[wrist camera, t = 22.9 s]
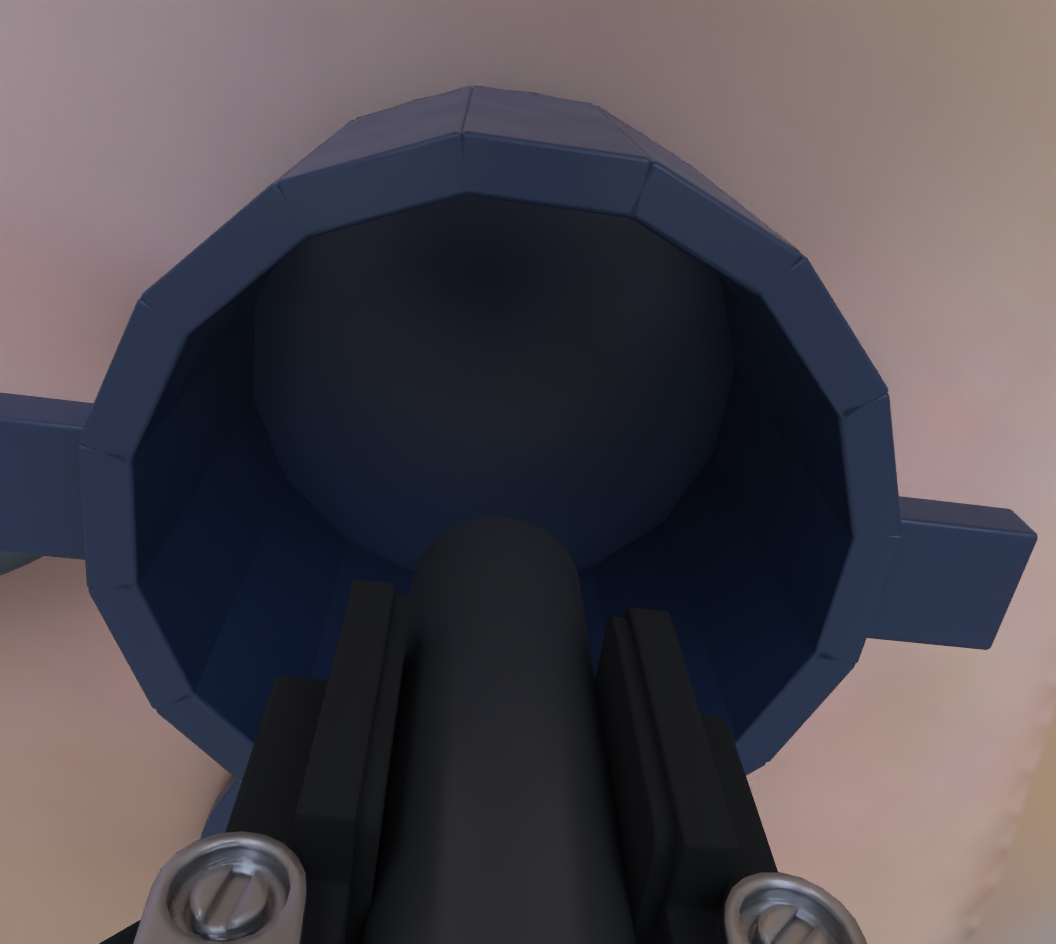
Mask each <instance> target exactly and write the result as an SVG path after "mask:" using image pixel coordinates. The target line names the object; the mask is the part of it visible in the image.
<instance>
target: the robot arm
mask: <svg viewBox="0 0 1056 944" xmlns="http://www.w3.org/2000/svg"><path fill="white" fill-rule="evenodd" d="M410 599H411V597H409V596H399V595H395V584H392V583H382V582H372V581H362V580H353V583H352V587H351V591H350V595H349V599H348V603H347V607H346V611H345V615H344V619H343V623H342V627H341V631H340V635H339V639H338V643H337V647H336V652H335V656H334V660H333V664H332V668H331V672H330V676H329V680H324V679H313V678H302V677H291V676H280V675H279V676H278V677H277V678H276V680H275V682H274V685H273V688H272V691H271V694H270V697H269V700H268V703H267V706H266V709H265V712H264V715H263V718H262V721H261V724H260V727H259V730H258V733H257V736H256V740H255V743H254V746H253V749H252V752H251V755H250V758H249V761H248V764H247V767H246V770H245V773H244V776H243V779H242V782H241V785H240V788H239V791H238V795H237V798H236V801H235V804H234V807H233V810H232V813H231V816H230V819H229V822H228V825H227V828H226V831H225V833H219V834H216V835H213V836H209V837H206V838H203V839H200V840H197V841H195V842H194V843H192V844H190V845H189V846H187V847H185V848H184V849H182V850H180V851H179V852H177V853H176V854H175V855H174V856H173V857H172V858H171V859H170V860H169V861H168V862H167V863H166V864H165V865H164V866H163V867H162V868H161V869H160V871H159V873H158V875H157V877H156V879H155V881H154V883H153V885H152V887H151V889H150V892H149V896H148V899H147V902H146V905H145V908H144V911H143V915H142V918H141V920H139V921H138V922H136V923H134V924H132V925H131V926H129V927H127V928H125V929H124V930H122V931H120V932H118V933H117V934H115V935H113V936H112V937H110V938H108V939H106V940H105V941H103V942H101V943H99V944H360V939H361V933H362V928H363V925H364V922H365V920H366V917H367V915H368V913H369V911H370V907H371V900H372V893H373V885H374V878H375V871H376V863H377V856H378V848H379V841H380V834H381V826H382V819H383V812H384V804H385V797H386V790H387V782H388V775H389V768H390V760H391V753H392V746H393V738H394V731H395V724H396V716H397V709H398V702H399V694H400V687H401V679H402V672H403V665H404V656H405V647H406V637H407V628H408V618H409V609H410ZM595 683H596V689H597V696H598V702H599V708H600V715H601V721H602V728H603V734H604V741H605V747H606V753H607V760H608V766H609V773H610V779H611V785H612V792H613V798H614V805H615V811H616V817H617V824H618V830H619V837H620V843H621V850H622V856H623V862H624V869H625V875H626V882H627V888H628V894H629V901H630V907H631V914H632V920H633V927H634V932H635V938H636V944H867V943H866V940H865V937H864V935H863V933H862V931H861V929H860V927H859V925H858V924H857V922H856V920H855V918H854V917H853V916H852V915H851V914H850V913H849V911H848V910H847V909H846V908H845V907H844V906H843V904H842V903H841V902H840V901H838V900H837V899H836V898H835V897H833V896H832V895H831V894H829V893H828V892H827V891H825V890H824V889H823V888H821V887H819V886H817V885H815V884H813V883H811V882H809V881H807V880H805V879H803V878H800V877H796V876H792V875H788V874H784V873H780V872H778V871H777V868H776V865H775V862H774V859H773V856H772V853H771V850H770V847H769V844H768V841H767V838H766V835H765V832H764V829H763V826H762V823H761V820H760V817H759V814H758V811H757V808H756V805H755V802H754V799H753V796H752V793H751V790H750V787H749V784H748V781H747V778H746V775H745V772H744V769H743V766H742V763H741V760H740V757H739V754H738V751H737V748H736V745H735V742H734V739H733V736H732V733H731V730H730V728H729V725H728V723H727V721H726V719H724V718H723V717H722V716H716V715H705V714H700V713H699V709H698V706H697V703H696V699H695V696H694V693H693V689H692V686H691V683H690V679H689V676H688V673H687V669H686V666H685V662H684V659H683V656H682V652H681V649H680V646H679V642H678V639H677V636H676V632H675V629H674V626H673V622H672V619H671V616H670V614H669V612H667V611H658V610H648V609H638V608H629V607H627V608H626V609H625V611H624V613H623V616H622V618H619V617H610V618H609V620H608V622H607V626H606V631H605V635H604V640H603V645H602V650H601V654H600V659H599V664H598V668H597V673H596V678H595Z"/></svg>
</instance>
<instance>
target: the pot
mask: <svg viewBox="0 0 1056 944" xmlns="http://www.w3.org/2000/svg"><path fill="white" fill-rule="evenodd" d="M887 392H888V388H887V386H886V384H885V383H884V381H883V379H882V378H881V376H880V375H879V373H878V371H877V370H876V368H875V367H874V365H873V363H872V362H871V360H870V359H869V357H868V355H867V354H866V352H865V350H864V349H863V347H862V346H861V344H860V342H859V341H858V339H857V338H856V336H855V334H854V333H853V331H852V330H851V328H850V326H849V325H848V323H847V321H846V320H845V318H844V317H843V315H842V313H841V312H840V310H839V309H838V307H837V305H836V304H835V302H834V301H833V299H832V297H831V296H830V294H829V292H828V291H827V289H826V288H825V286H824V284H823V283H822V281H821V280H820V278H819V276H818V275H817V273H816V272H815V270H814V268H813V267H812V265H811V263H810V262H809V260H808V259H807V258H806V257H805V256H804V255H803V254H801V253H800V252H799V250H797V249H796V248H795V247H794V246H792V245H791V244H790V243H789V242H787V241H786V240H785V239H783V238H782V237H781V236H780V235H778V234H777V233H776V232H775V231H773V230H772V229H771V228H769V227H768V226H767V225H766V224H764V223H763V222H762V221H761V220H759V219H758V218H757V217H756V216H754V215H753V214H752V213H750V212H749V211H748V210H747V209H745V208H744V207H743V206H742V205H740V204H739V203H738V202H737V201H735V200H734V199H733V198H731V197H730V196H729V195H728V194H726V193H725V192H724V191H723V190H721V189H720V188H719V187H717V186H716V185H715V184H714V183H712V182H711V181H710V180H709V179H707V178H706V177H705V176H704V175H702V174H701V173H700V172H698V171H697V170H696V169H695V168H693V167H692V166H691V165H689V164H688V163H686V162H685V161H683V160H681V159H680V158H678V157H677V156H675V155H674V154H672V153H671V152H669V151H667V150H666V149H664V148H663V147H661V146H660V145H658V144H657V143H655V142H653V141H652V140H650V139H649V138H647V137H646V136H645V135H643V134H642V133H640V132H638V131H637V130H635V129H633V128H632V127H630V126H629V125H627V124H625V123H624V122H622V121H621V120H619V119H618V118H616V117H615V116H613V115H611V114H610V113H608V112H607V111H605V110H604V109H602V108H601V107H599V106H594V105H593V104H591V103H587V102H580V101H574V100H567V99H561V98H555V97H551V96H546V95H542V94H537V93H533V92H521V91H508V90H501V89H494V88H487V87H481V86H474V87H473V88H472V87H470V86H468V87H464V88H461V89H457V90H453V91H450V92H446V93H443V94H439V95H435V96H430V97H425V98H421V99H416V100H412V101H410V102H407V103H404V104H401V105H399V106H396V107H393V108H389V109H386V110H382V111H379V112H375V113H371V114H368V115H364V116H361V117H357V118H356V119H355V120H351V121H350V122H349V123H348V124H346V125H345V126H344V127H343V128H341V129H340V130H339V131H338V132H336V133H335V134H334V135H333V136H331V137H330V138H329V139H328V140H326V141H325V142H324V143H322V144H321V145H320V146H319V147H317V148H316V149H315V150H314V151H312V152H311V153H310V154H309V155H307V156H306V157H305V158H304V159H302V160H301V161H300V162H299V163H297V164H296V165H295V166H294V167H292V168H291V169H290V170H289V171H287V172H286V173H285V174H284V175H282V176H281V177H280V178H279V179H277V180H276V181H275V182H274V183H272V184H271V185H270V186H269V187H268V188H266V189H265V190H264V191H263V192H262V193H260V194H259V195H258V196H257V197H256V198H255V199H253V200H252V201H251V202H250V203H249V204H247V205H246V206H245V207H244V208H243V209H242V210H240V211H239V212H238V213H237V214H236V215H235V216H233V217H232V218H231V219H230V220H229V221H227V222H226V223H225V224H224V225H223V226H222V227H220V228H219V229H218V230H217V231H216V232H214V233H213V234H212V235H211V236H210V237H209V238H207V239H206V240H205V241H204V242H203V243H202V244H200V245H199V246H198V247H197V248H196V249H194V250H193V251H192V252H191V253H190V254H189V255H187V256H186V257H185V258H184V259H183V260H181V261H180V262H179V263H178V264H177V265H176V266H174V267H173V268H172V269H171V270H170V271H169V272H167V273H166V274H165V275H164V276H163V277H161V278H160V279H159V280H158V281H157V282H156V283H154V284H153V285H152V286H151V287H150V288H148V289H147V290H146V291H145V292H144V293H143V294H142V296H141V298H140V299H139V300H138V301H137V303H136V305H135V307H134V310H133V312H132V315H131V317H130V319H129V322H128V324H127V326H126V329H125V331H124V333H123V336H122V338H121V340H120V343H119V345H118V347H117V350H116V352H115V354H114V357H113V359H112V361H111V364H110V366H109V369H108V371H107V373H106V376H105V378H104V380H103V383H102V385H101V387H100V390H99V392H98V394H97V397H96V399H95V401H94V403H86V402H77V401H68V400H60V399H51V398H42V397H34V396H25V395H16V394H7V393H0V551H3V552H13V553H23V554H33V555H43V556H53V557H63V558H73V559H83V560H85V563H86V577H87V586H88V587H89V593H90V595H91V597H92V599H93V601H94V602H95V604H96V606H97V608H98V610H99V612H100V613H101V615H102V617H103V619H104V621H105V622H106V624H107V626H108V628H109V630H110V632H111V633H112V635H113V637H114V639H115V641H116V642H117V644H118V646H119V648H120V650H121V651H122V653H123V655H124V657H125V659H126V661H127V662H128V664H129V666H130V668H131V670H132V671H133V673H134V675H135V677H136V679H137V681H138V682H139V684H140V686H141V688H142V690H143V691H144V693H145V695H146V697H147V699H148V701H149V702H150V704H151V706H152V707H153V708H154V709H156V711H157V713H158V714H159V715H161V716H162V717H163V718H164V719H165V720H167V721H168V722H169V723H170V724H172V725H173V726H174V727H175V728H176V729H178V730H179V731H180V732H181V733H182V734H184V735H185V736H186V737H187V738H188V739H190V740H191V741H192V742H193V743H194V744H196V745H197V746H198V747H199V748H200V749H202V750H203V751H204V752H205V753H206V754H208V755H209V756H210V757H211V758H212V759H214V760H215V761H216V762H217V763H219V764H220V765H221V766H222V767H223V768H225V769H226V770H227V771H228V772H229V773H231V774H232V775H233V776H234V777H235V778H237V779H238V780H239V781H240V782H242V779H243V776H244V773H245V770H246V767H247V764H248V761H249V758H250V755H251V752H252V749H253V746H254V743H255V740H256V736H257V733H258V730H259V727H260V724H261V721H262V718H263V715H264V712H265V709H266V706H267V703H268V700H269V697H270V694H271V691H272V688H273V685H274V682H275V680H276V678H277V677H278V676H279V675H280V676H291V677H302V678H313V679H324V680H329V676H330V672H331V668H332V664H333V660H334V656H335V652H336V647H337V643H338V639H339V635H340V631H341V627H342V623H343V619H344V615H345V611H346V607H347V603H348V599H349V595H350V591H351V587H352V583H353V580H362V581H372V582H382V583H392V584H395V595H399V596H409V595H410V588H411V582H412V576H413V572H414V570H415V567H416V564H417V562H418V560H419V558H420V556H421V555H422V554H423V552H424V551H425V549H426V548H427V547H428V546H429V545H430V544H431V543H432V542H433V541H434V540H435V539H436V538H437V537H439V536H440V535H441V534H443V533H444V532H446V531H447V530H449V529H451V528H452V527H455V526H457V525H459V524H461V523H464V522H468V521H471V520H475V519H480V518H489V517H504V518H512V519H518V520H521V521H525V522H528V523H531V524H533V525H535V526H538V527H540V528H541V529H543V530H545V531H546V532H548V533H549V534H551V535H552V536H553V537H555V538H556V539H557V540H558V541H559V542H560V543H561V544H562V545H563V546H564V547H565V548H566V550H567V551H568V552H569V554H570V555H571V557H572V559H573V561H574V563H575V565H576V568H577V571H578V575H579V580H580V586H581V592H582V599H583V605H584V612H585V618H586V624H587V631H588V637H589V644H590V650H591V656H592V663H593V669H594V676H595V678H596V673H597V668H598V664H599V659H600V654H601V650H602V645H603V640H604V635H605V631H606V626H607V622H608V620H609V618H610V617H619V618H622V616H623V613H624V611H625V609H626V608H627V607H629V608H638V609H648V610H658V611H667V612H669V614H670V616H671V619H672V622H673V626H674V629H675V632H676V636H677V639H678V642H679V646H680V649H681V652H682V656H683V659H684V662H685V666H686V669H687V673H688V676H689V679H690V683H691V686H692V689H693V693H694V696H695V699H696V703H697V706H698V709H699V713H700V714H705V715H716V716H722V717H723V718H724V719H726V721H727V723H728V725H729V728H730V730H731V733H732V736H733V739H734V742H735V745H736V748H737V751H738V754H739V757H740V760H741V763H742V766H743V769H744V772H745V775H748V774H750V773H751V772H753V771H755V770H757V769H759V768H760V767H762V766H764V765H765V764H766V762H769V761H770V760H771V759H772V758H773V757H774V756H775V755H776V754H777V753H778V751H779V750H780V749H781V748H782V747H783V746H784V745H785V744H786V743H787V741H788V740H789V739H790V738H791V737H792V736H793V735H794V734H795V732H796V731H797V730H798V729H799V728H800V727H801V726H802V725H803V724H804V722H805V721H806V720H807V719H808V718H809V717H810V716H811V715H812V713H813V712H814V711H815V710H816V709H817V708H818V707H819V706H820V704H821V703H822V702H823V701H824V700H825V699H826V698H827V697H828V696H829V694H830V693H831V692H832V691H833V690H834V689H835V688H836V687H837V685H838V684H839V683H840V682H841V681H842V680H843V679H844V678H845V677H846V675H847V674H848V673H849V672H850V671H851V670H852V669H853V668H854V666H855V663H857V662H858V660H859V657H860V654H861V652H862V649H863V646H864V643H865V640H866V638H874V639H884V640H894V641H904V642H914V643H924V644H934V645H943V646H953V647H963V648H973V649H983V650H987V649H989V648H990V647H991V646H992V643H993V641H994V639H995V636H996V634H997V632H998V629H999V627H1000V625H1001V622H1002V620H1003V618H1004V615H1005V613H1006V611H1007V608H1008V606H1009V604H1010V601H1011V599H1012V597H1013V595H1014V592H1015V590H1016V588H1017V585H1018V583H1019V581H1020V578H1021V576H1022V574H1023V571H1024V569H1025V567H1026V564H1027V562H1028V560H1029V557H1030V555H1031V553H1032V550H1033V548H1034V546H1035V543H1036V541H1037V534H1036V533H1035V532H1034V531H1033V530H1032V529H1031V528H1030V527H1029V526H1028V525H1027V524H1026V523H1025V522H1024V521H1023V520H1022V519H1021V518H1020V517H1018V516H1017V515H1016V514H1015V513H1014V512H1013V511H1012V510H1010V509H1005V508H996V507H987V506H979V505H970V504H961V503H953V502H944V501H935V500H927V499H918V498H909V497H900V496H899V495H898V484H897V473H896V463H895V452H894V441H893V431H892V420H891V410H890V399H889V395H888V393H887Z"/></svg>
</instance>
